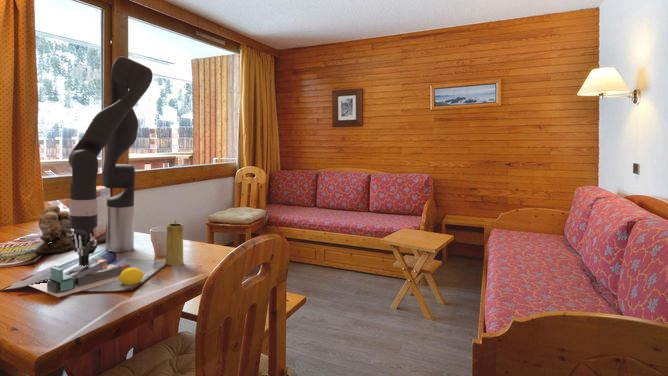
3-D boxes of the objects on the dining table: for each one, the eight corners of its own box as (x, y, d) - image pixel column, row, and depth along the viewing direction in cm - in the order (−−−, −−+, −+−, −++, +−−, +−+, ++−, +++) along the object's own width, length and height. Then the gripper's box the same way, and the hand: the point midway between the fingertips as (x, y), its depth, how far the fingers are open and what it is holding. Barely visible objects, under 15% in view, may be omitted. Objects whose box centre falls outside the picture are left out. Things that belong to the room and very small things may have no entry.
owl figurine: (63, 256, 143) (62, 209, 141) (26, 256, 140) (24, 209, 138) (83, 243, 160) (83, 201, 158) (50, 243, 158) (49, 201, 156)
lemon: (118, 290, 116) (115, 272, 116) (122, 283, 122) (119, 266, 121) (143, 286, 118) (141, 268, 118) (146, 279, 123) (144, 263, 123)
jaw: (73, 284, 115) (73, 275, 115) (67, 283, 116) (67, 274, 115) (107, 267, 131) (107, 259, 131) (102, 267, 131) (102, 259, 131)
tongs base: (56, 293, 109) (56, 283, 108) (47, 290, 111) (47, 280, 110) (130, 272, 128) (130, 264, 128) (121, 270, 130) (121, 261, 130)
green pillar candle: (177, 267, 138) (177, 227, 136) (161, 265, 139) (161, 225, 137) (187, 262, 144) (187, 224, 142) (171, 260, 145) (172, 222, 143)
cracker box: (97, 231, 182) (97, 185, 179) (111, 231, 182) (111, 186, 180) (80, 238, 168) (80, 189, 165) (95, 238, 168) (95, 189, 166)
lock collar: (61, 291, 109) (60, 270, 108) (49, 286, 112) (49, 266, 111) (73, 288, 112) (73, 268, 111) (61, 283, 114) (61, 264, 114)
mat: (28, 287, 113) (28, 285, 113) (112, 265, 135) (112, 264, 135) (58, 299, 106) (58, 297, 106) (141, 274, 129) (141, 273, 128)
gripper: (59, 211, 125) (59, 265, 127) (83, 217, 119) (84, 273, 121) (83, 208, 132) (83, 259, 133) (108, 214, 126) (108, 267, 127)
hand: (84, 266), depth 127 cm, fingers closed
